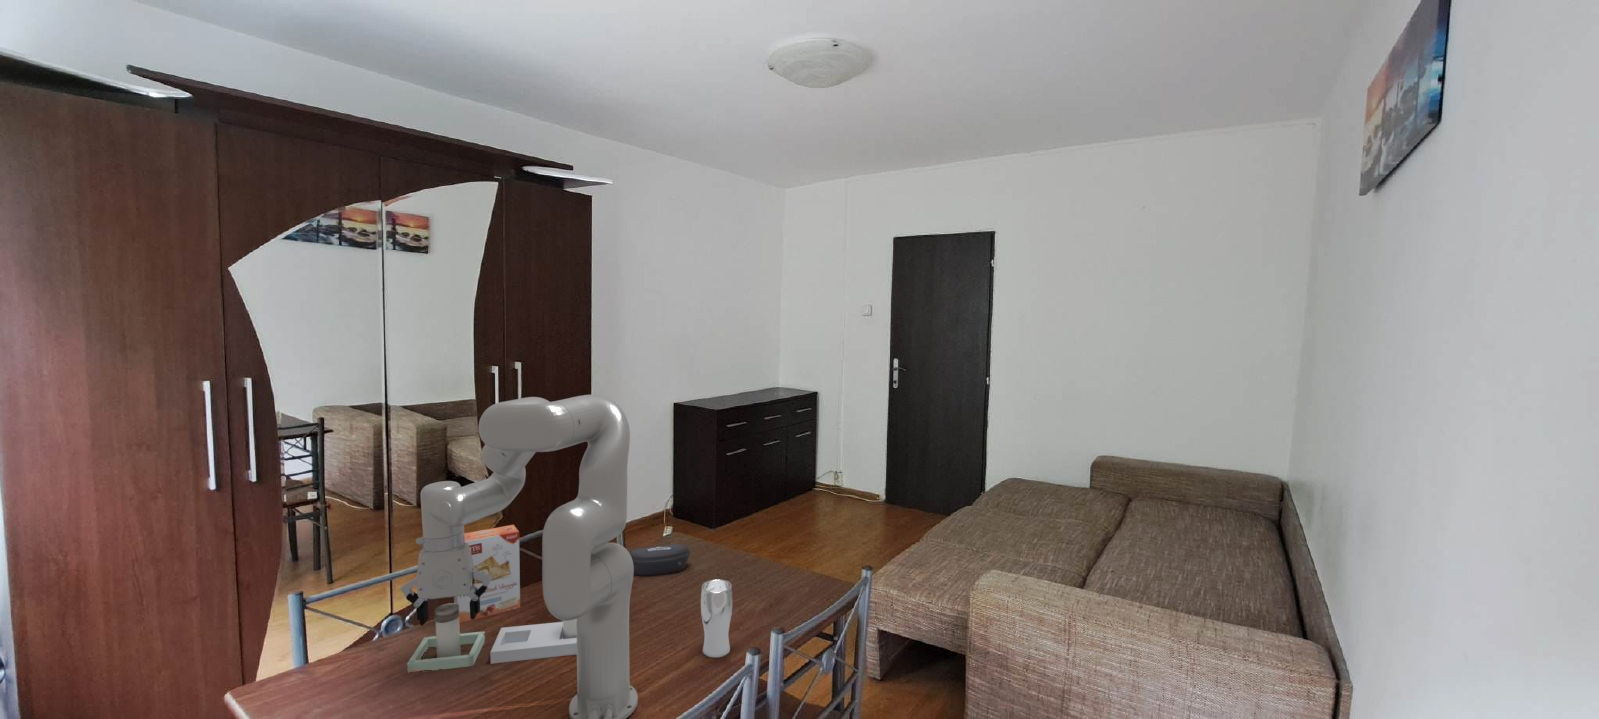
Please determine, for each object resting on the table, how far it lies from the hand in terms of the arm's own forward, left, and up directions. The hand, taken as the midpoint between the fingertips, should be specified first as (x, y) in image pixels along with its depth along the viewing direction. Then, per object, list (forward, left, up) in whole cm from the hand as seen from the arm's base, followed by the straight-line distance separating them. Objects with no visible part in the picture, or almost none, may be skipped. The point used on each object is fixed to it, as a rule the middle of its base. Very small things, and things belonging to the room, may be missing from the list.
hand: (449, 619), depth 133 cm
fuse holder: (0, -19, -9) cm, 21 cm away
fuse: (0, -25, -8) cm, 26 cm away
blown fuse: (+1, +1, -9) cm, 9 cm away
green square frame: (0, +1, -9) cm, 9 cm away
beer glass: (-8, -56, -10) cm, 57 cm away
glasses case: (+38, -44, -10) cm, 59 cm away
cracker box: (+19, -3, -10) cm, 22 cm away
